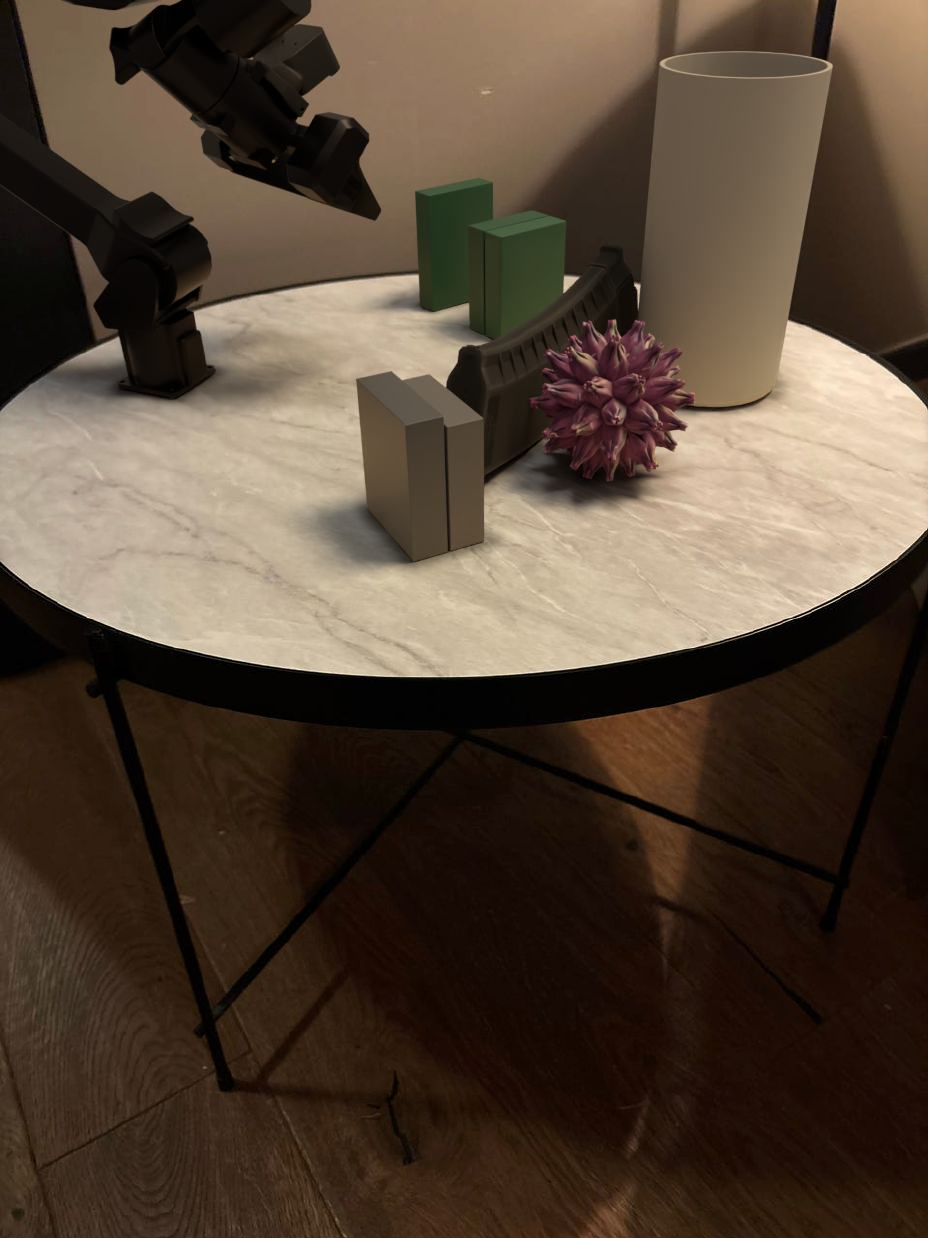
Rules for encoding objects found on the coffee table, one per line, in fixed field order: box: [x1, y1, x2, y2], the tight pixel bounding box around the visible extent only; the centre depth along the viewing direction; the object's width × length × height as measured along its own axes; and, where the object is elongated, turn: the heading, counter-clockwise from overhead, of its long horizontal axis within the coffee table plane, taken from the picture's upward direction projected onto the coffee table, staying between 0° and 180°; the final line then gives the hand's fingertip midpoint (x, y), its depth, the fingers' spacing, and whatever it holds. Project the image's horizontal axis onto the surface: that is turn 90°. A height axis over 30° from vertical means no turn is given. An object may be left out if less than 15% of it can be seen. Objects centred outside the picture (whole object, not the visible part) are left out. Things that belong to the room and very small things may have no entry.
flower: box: [529, 319, 695, 482], centre depth 74 cm, size 12×12×12 cm
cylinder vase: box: [637, 50, 834, 408], centre depth 83 cm, size 12×12×25 cm
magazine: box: [445, 242, 639, 477], centre depth 81 cm, size 17×3×30 cm
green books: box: [468, 209, 567, 340], centre depth 99 cm, size 8×5×10 cm, turn 127°
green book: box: [414, 177, 494, 312], centre depth 105 cm, size 8×2×12 cm, turn 127°
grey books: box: [355, 370, 485, 563], centre depth 69 cm, size 8×5×10 cm
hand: (347, 205), depth 89 cm, fingers open, 9 cm apart
